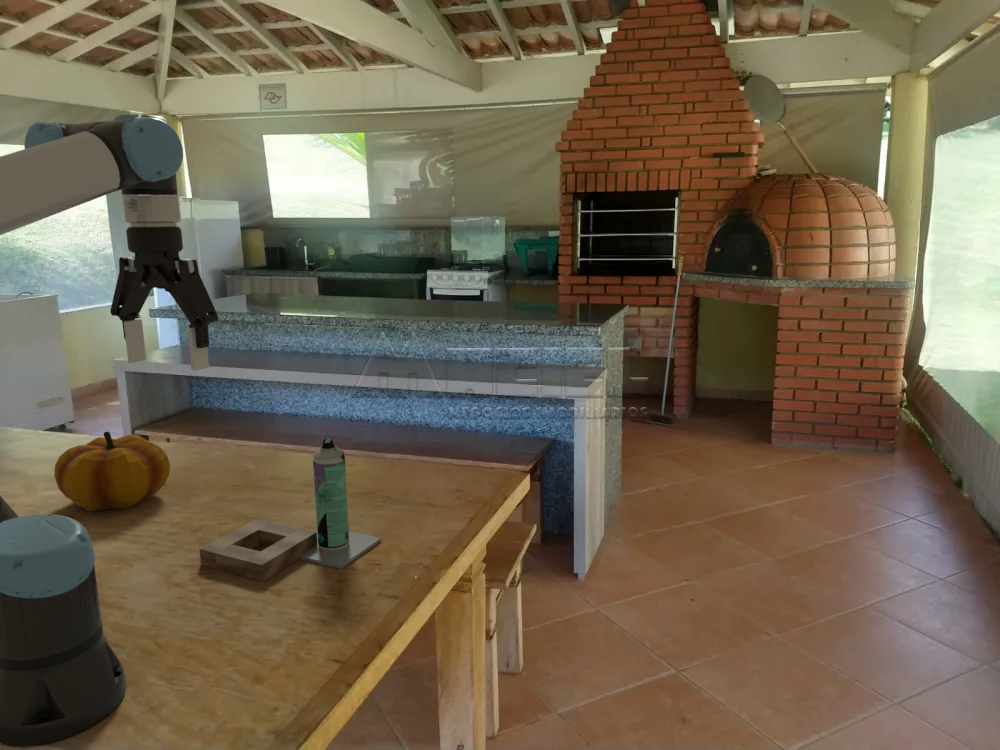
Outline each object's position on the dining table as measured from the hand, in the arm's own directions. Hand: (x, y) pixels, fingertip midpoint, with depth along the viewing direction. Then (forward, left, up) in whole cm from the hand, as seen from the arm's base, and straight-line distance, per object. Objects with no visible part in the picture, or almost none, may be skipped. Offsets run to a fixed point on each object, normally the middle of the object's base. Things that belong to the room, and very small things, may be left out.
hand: (168, 365), depth 116 cm
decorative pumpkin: (+19, +42, -37) cm, 59 cm away
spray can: (+20, -14, -36) cm, 44 cm away
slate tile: (+20, -14, -37) cm, 44 cm away
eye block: (+12, -4, -37) cm, 39 cm away
